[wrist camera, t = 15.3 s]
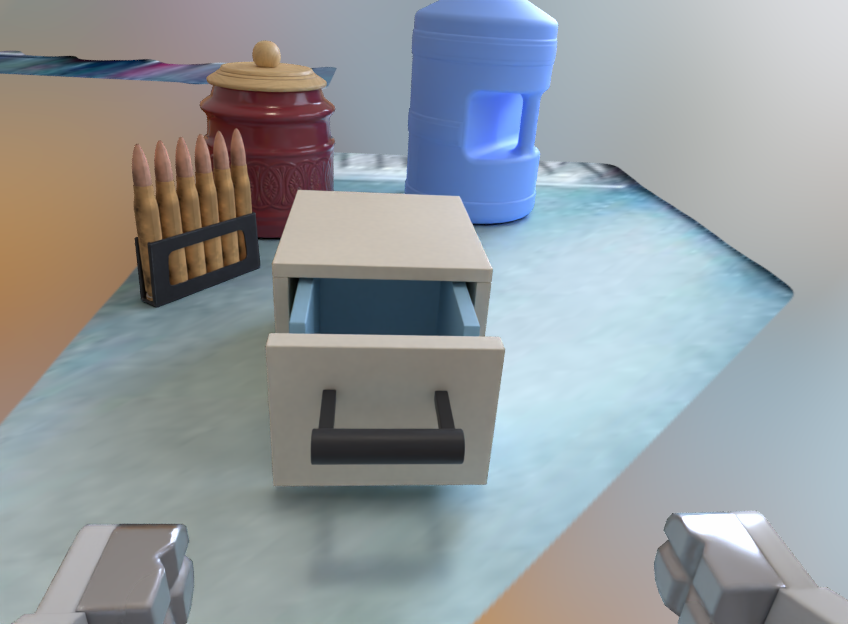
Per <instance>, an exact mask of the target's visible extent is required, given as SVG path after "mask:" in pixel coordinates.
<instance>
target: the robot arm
mask: <svg viewBox="0 0 848 624" xmlns="http://www.w3.org/2000/svg"><path fill="white" fill-rule="evenodd" d="M664 532H665V534H666V535H667V537H668V540H667V541H666V542H665V543H664V544H663V545H662V546H660V547H659V548H658V550H657V554H656V558H655V561H654V570H655V581H656V584H657V588H658V591H659V594H660V596H661V598H662V600H663V602H664V604H665V606H666V607H668V608H669V609H670V610H671V611H673V612H674V613H675V614H677V615H678V616H679V620H678V624H848V600H847V599H845V598H844V597H842V596H840V595H839V594H837V593H836V592H834V591H833V590H831V589H829V588H828V587H818V586H817V584H816V583H815V582H814V580H813V579H812V578H811V577H810V575H809V574H808V573H807V571H806V570H805V569H804V567H803V566H802V565H801V563H800V562H799V561H798V560H797V558H796V557H795V556H794V554H793V553H792V552H791V550H790V549H789V548H788V547H787V545H786V544H785V543H784V541H783V540H782V539H781V537H780V536H779V535H778V534H777V532H776V531H775V529H774V528H773V527H772V526H771V524H770V523H769V522H768V520H767V519H766V518H765V517H764V516H763V515H762V514H761V513H759V512H757V511H733V512H700V513H672V514H671V515H670V517H669V518H668V519H667V521H666V524H665V527H664ZM188 543H189V537H188V532H187V527H186V526H185V525H183V524H119V525H118V524H87V525H85V526H84V527H83V528H82V529H81V530H80V531H79V532H78V533H77V535H76V537H75V539H74V541H73V543H72V545H71V546H70V548H69V550H68V552H67V554H66V556H65V558H64V559H63V561H62V563H61V565H60V567H59V569H58V571H57V573H56V574H55V576H54V578H53V580H52V582H51V584H50V586H49V587H48V589H47V591H46V593H45V595H44V597H43V599H42V601H41V602H40V604H39V606H38V608H37V610H36V612H35V614H24V615H22V616H21V617H20V618H18V619H17V620H16V621H14V622H13V623H12V624H186V623H187V620H188V617H189V613H190V609H191V605H192V598H193V591H194V569H193V562H192V560H191V559H190V558H188V557H187V556H186V555H185V553H186V550H187V547H188Z"/></svg>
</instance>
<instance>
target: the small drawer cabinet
mask: <svg viewBox="0 0 848 624" xmlns="http://www.w3.org/2000/svg"><path fill="white" fill-rule="evenodd" d="M492 273H493V269H492V266H491V264H490V262H489V260H488V258H487V255H486V253H485V251H484V249H483V247H482V244H481V242H480V240H479V238H478V236H477V233H476V231H475V229H474V227H473V225H472V222H471V220H470V218H469V216H468V214H467V211H466V209H465V207H464V205H463V203H462V200H461V198H460V196H444V195H418V194H392V193H366V192H340V191H314V190H298V191H297V194H296V197H295V200H294V202H293V205H292V208H291V211H290V214H289V217H288V220H287V222H286V225H285V228H284V231H283V234H282V237H281V240H280V242H279V245H278V248H277V251H276V254H275V257H274V259H273V262H272V275H273V295H274V316H275V333H289V320H290V316H291V312H292V308H293V304H294V299H295V295H296V291H297V287H298V282H299V278H341V279H381V280H421V281H462V282H465V283H466V286H467V289H468V292H469V295H470V298H471V301H472V304H473V307H474V310H475V313H476V316H477V319H478V322H479V325H480V333H479V336H481V337H485V331H486V323H487V315H488V306H489V298H490V290H491V281H492Z"/></svg>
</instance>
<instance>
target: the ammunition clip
mask: <svg viewBox="0 0 848 624" xmlns="http://www.w3.org/2000/svg"><path fill="white" fill-rule="evenodd" d="M154 161H155V176H156V198H155V195H154V191H153V185H152V181H151V175H150V170H149V166H148V163H147V160H146V157H145V154H144V152H143V150H142V148H141V146H140V145H139V144H136V145H135V147H134V151H133V158H132V174H133V182H134V185H133V186H134V212H135V219H136V226H137V233H138V237H136V238H135V246H136V256H137V265H138V275H139V284H140V294H141V300H142V301H144V302H147V303H149V304H151V305H153V306H155V307H159V306H162V305H164V304H167V303H169V302H172V301H175V300H177V299H180V298H182V297H185V296H188V295H190V294H193V293H195V292H198V291H200V290H203V289H206V288H208V287H211V286H213V285H216V284H219V283H221V282H224V281H226V280H229V279H232V278H234V277H237V276H239V275H242V274H244V273H247V272H250V271H252V270H255V269H257V268H259V267H260V256H259V245H258V234H257V223H256V213H255V212H252V204H251V189H250V181H249V177H248V173H247V164H246V155H245V149H244V144H243V140H242V137H241V135H240V132H239V130H238V129H237V128H236V129H235V130H234V132H233V135H232V140H231V172H230V167H229V157H228V152H227V147H226V144H225V141H224V138H223V136H222V134H221V132H220V131H218V132H217V134H216V136H215V141H214V148H213V163H214V168H213V170H214V180H213V173H212V167H211V159H210V154H209V150H208V147H207V144H206V141H205V139H204V137H203V136H202V134H199V136H198V138H197V141H196V148H195V169H196V172H195V176H196V184H195V180H194V175H193V168H192V162H191V158H190V154H189V151H188V148H187V145H186V143H185V141H184V139H183V138H182V137H180V138H179V140H178V144H177V147H176V174H177V176H176V181H177V189H176V190H175V185H174V180H173V174H172V168H171V163H170V160H169V156H168V153H167V150H166V148H165V146H164V144H163V142H162V141H161V140H159V141H158V142H157V145H156V150H155V160H154Z"/></svg>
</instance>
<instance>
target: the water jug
mask: <svg viewBox="0 0 848 624" xmlns="http://www.w3.org/2000/svg"><path fill="white" fill-rule="evenodd" d="M557 31H558V23H557V21H556V20H555V19H554V18H552V17H550V16H549V15H548V14H546V13H545V12H543V11H542V10H541V9H539V8H537V7H536V6H535V5H533V4H532V3H530V2H529V1H528V0H438V1H437V2H434V3H433V4H430V5H428V6H426V7H424V8H422V9H420V10H418V11H417V13H416V14H415V22H414V29H413V35H412V54H413V62H412V80H411V101H410V108H409V115H408V131H409V141H408V142H409V143H408V162H407V178H406V181H405V194H418V195H444V196H460V198H461V200H462V203H463V205H464V207H465V209H466V211H467V214H468V216H469V218H470V220H471V222H472V223H473V224H493V223H504V222H509V221H514V220H517V219H520V218H522V217H524V216H526V215H527V214H528V213H530V211H531V210H532V209H533V206H534V202H535V195H536V190H535V186H536V179H537V172H538V165H539V158H540V152H539V150H538V149H537V148H536V147H534V143H535V135H536V128H537V121H538V114H539V106H540V99H541V96H542V94H543V93H544V92H545V91H546V90H548V88H549V87H550V81H551V73H552V66H553V64H554V60H555V55H556V48H557V39H556V38H557ZM522 105H523V107H522ZM521 113H522V115H521ZM520 121H521V123H520ZM519 128H520V131H519Z"/></svg>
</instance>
